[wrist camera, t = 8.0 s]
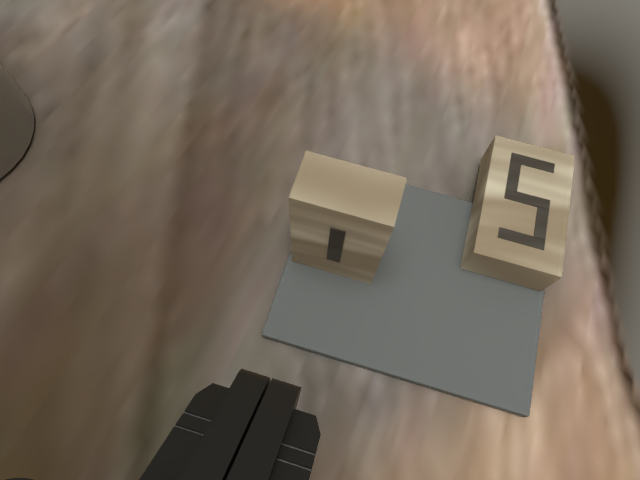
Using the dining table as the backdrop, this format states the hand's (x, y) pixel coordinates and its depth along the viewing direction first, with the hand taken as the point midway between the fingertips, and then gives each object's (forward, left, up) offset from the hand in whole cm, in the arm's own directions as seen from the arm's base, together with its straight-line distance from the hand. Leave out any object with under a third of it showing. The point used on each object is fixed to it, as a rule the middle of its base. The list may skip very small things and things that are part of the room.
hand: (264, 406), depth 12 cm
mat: (-3, +10, -14) cm, 17 cm away
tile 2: (0, +14, -12) cm, 18 cm away
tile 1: (-6, +7, -13) cm, 16 cm away
